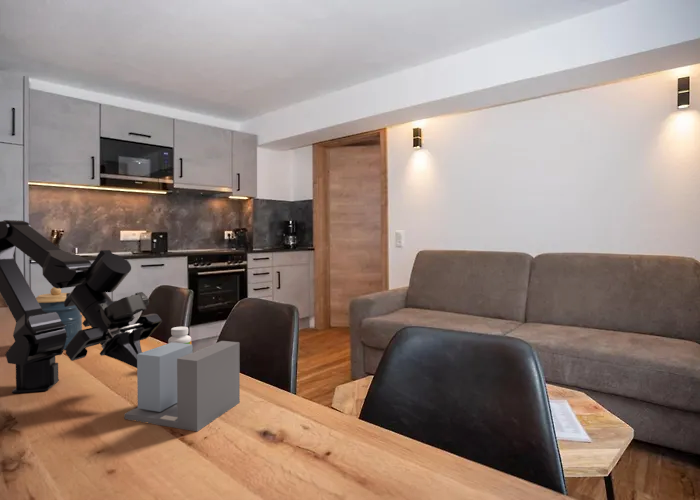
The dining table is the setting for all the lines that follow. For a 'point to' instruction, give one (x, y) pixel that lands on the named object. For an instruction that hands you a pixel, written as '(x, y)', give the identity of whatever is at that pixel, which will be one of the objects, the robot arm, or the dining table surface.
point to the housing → (200, 388)
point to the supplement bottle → (180, 335)
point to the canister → (62, 312)
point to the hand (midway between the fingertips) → (142, 367)
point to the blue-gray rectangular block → (159, 375)
